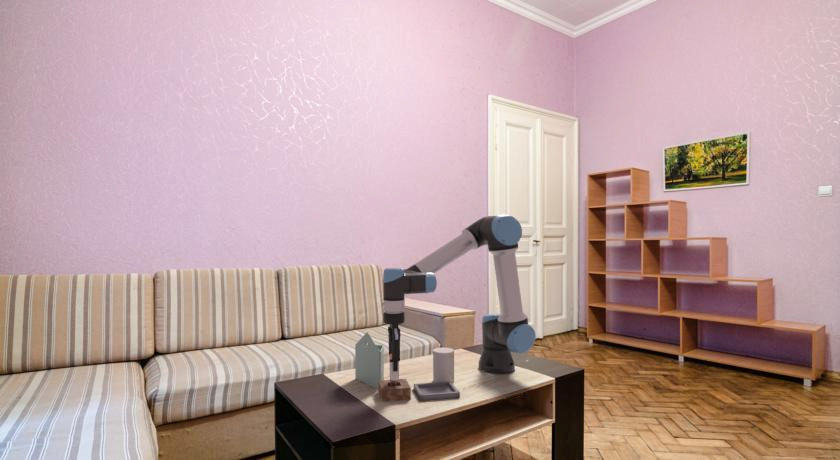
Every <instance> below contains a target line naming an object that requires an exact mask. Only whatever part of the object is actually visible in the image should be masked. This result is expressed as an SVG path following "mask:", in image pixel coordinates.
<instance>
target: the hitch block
mask: <svg viewBox="0 0 840 460" xmlns="http://www.w3.org/2000/svg"><path fill="white" fill-rule="evenodd" d="M377 390H378V394H379V397H380V401H381V402H382V403H383V402H394V401H396V402H397V401H407V400H408V401H409V400H411V398H412V397H411V395H412V394H411V392H412V391H411V390H412V389H411V386H410V384H409V382H408V380H407V378H399V386H390V379H384V380H379V381H378V389H377Z"/></svg>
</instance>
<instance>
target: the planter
mask: <svg viewBox="0 0 840 460" xmlns="http://www.w3.org/2000/svg"><path fill="white" fill-rule="evenodd" d="M354 347H355V350H354V352H355V354H354V355H355V357H354V359H355V360H354V361H355V364H354V365H355V366H354V367H355V371H354V372H355V375H354V377H355V380H356V379H357V380H356V381H359V382H362V383H364V384H366V385H367V386H370V387H372V388H375V389H377V390H379V389H378V381H379V380H385V375H384V373H385V372H384V371H385V363H384V362H385V361H384V360H385V359H384V358H385V357H384V356H385V353H384V351H385V350H384V349H385V346H384V345H383V344H378V345H377V344H376V343H375V342H374V340H373V338H372V337H371V335H370V333H369V332H368V331H367V332H365V333H364V334H363V336H362V337H361V338H360V339H358V341H357V342H356V344H355V346H354Z"/></svg>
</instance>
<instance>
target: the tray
mask: <svg viewBox="0 0 840 460" xmlns="http://www.w3.org/2000/svg"><path fill="white" fill-rule="evenodd" d="M413 390H414V391H415V394H416V396H417V397H418V399H419V401H420V402H421V401H423V402H424V401H434V400H435V401H436V400H445V399H446V400H449V399H459V398H460V397H461V392H460V391H459V390H458V388H457V387H456V386H455V385H454V383H451V381H447V382H424V383H423V382H422V383H413Z"/></svg>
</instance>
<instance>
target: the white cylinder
mask: <svg viewBox="0 0 840 460" xmlns="http://www.w3.org/2000/svg"><path fill="white" fill-rule="evenodd" d="M432 367H433V368H432V374H433V375H432V380H433V381H432V383H434V382H447V381H451V383H452V384H454V383H455V349H453V348H451V347H436V348H433V350H432Z"/></svg>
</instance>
